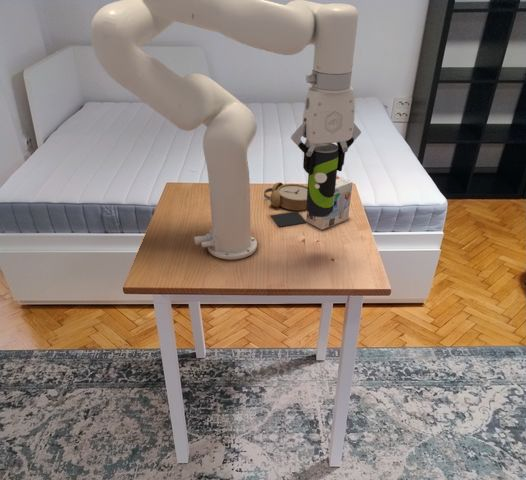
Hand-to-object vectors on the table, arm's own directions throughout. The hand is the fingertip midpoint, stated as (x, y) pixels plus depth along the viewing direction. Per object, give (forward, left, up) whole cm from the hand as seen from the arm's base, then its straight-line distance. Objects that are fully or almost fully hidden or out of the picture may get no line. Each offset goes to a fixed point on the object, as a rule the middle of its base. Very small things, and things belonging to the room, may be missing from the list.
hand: (323, 170), depth 110 cm
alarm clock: (+4, +31, -22) cm, 38 cm away
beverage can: (0, 0, -10) cm, 10 cm away
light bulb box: (+10, +17, -22) cm, 29 cm away
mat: (0, +21, -22) cm, 30 cm away
